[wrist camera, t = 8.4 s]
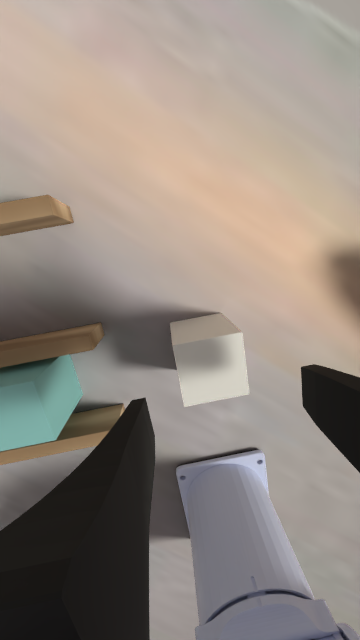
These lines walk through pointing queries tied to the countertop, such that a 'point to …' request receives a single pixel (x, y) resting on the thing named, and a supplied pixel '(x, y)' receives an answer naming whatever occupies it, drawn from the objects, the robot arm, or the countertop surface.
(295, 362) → the countertop surface
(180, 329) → the white rectangular block
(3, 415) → the teal plug block
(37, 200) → the rack
